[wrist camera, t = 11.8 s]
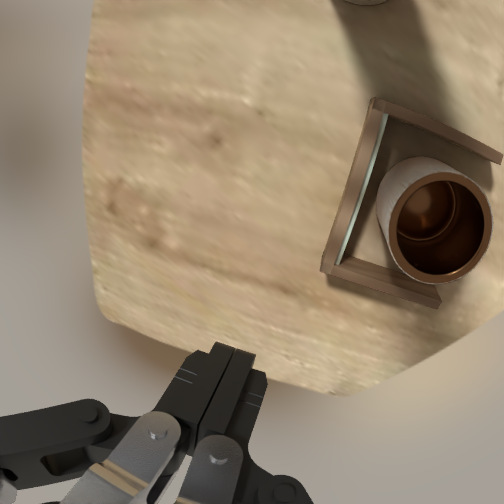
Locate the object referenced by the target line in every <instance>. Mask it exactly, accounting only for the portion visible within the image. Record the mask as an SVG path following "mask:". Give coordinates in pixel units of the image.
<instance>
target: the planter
mask: <svg viewBox="0 0 504 504" xmlns="http://www.w3.org/2000/svg"><path fill="white" fill-rule="evenodd" d="M376 212H377V217H378V220H379V223H380V226H381V228H382V231H383V233H384V236H385V238H386V241H387V244H388V247H389V250H390V253H391V255H392V257H393V259H394V261H395V262H396V264H397V265H398V267H399V268H400V269H401V270H402V271H403V272H404V273H405V274H407V275H408V276H409V277H411V278H413V279H415V280H417V281H419V282H422V283H427V284H445V283H449V282H452V281H455V280H457V279H460V278H461V277H463V276H465V275H466V274H468V273H469V272H470V271H471V270H473V269H474V268H475V267H476V266H477V264H478V263H479V262H480V261H481V259H482V258H483V256H484V255H485V253H486V251H487V249H488V246H489V244H490V241H491V237H492V231H493V216H492V210H491V206H490V203H489V201H488V199H487V197H486V195H485V193H484V192H483V190H482V189H481V188H480V186H479V185H478V184H477V183H476V182H474V181H473V180H472V179H471V178H469V177H467V176H466V175H464V174H462V173H460V172H459V171H457V170H455V169H453V168H452V167H450V166H448V165H446V164H445V163H443V162H441V161H439V160H437V159H434V158H430V157H412V158H408V159H405V160H403V161H401V162H399V163H397V164H396V165H395V166H393V167H392V168H391V169H390V170H389V171H388V172H387V173H386V175H385V176H384V178H383V179H382V181H381V183H380V186H379V189H378V192H377V198H376Z"/></svg>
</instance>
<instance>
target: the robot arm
mask: <svg viewBox="0 0 504 504" xmlns="http://www.w3.org/2000/svg"><path fill="white" fill-rule="evenodd" d="M344 1H347V2H350V3H353V4H359V5H375V4H380V3H383V2H385V1H387V0H344ZM235 349H236V348H234V347H231V346H228V345H225V344H222V343H219V342H215V344H214V345H213V347H212V349H211V351H210V353H209V354H208V353H205V352H202V351H200V350H197V351H195V352H194V353H192V354H191V355H189V356H188V357H187V358H186V359H185V361H184V362H183V364H182V366H181V367H180V369H179V370H178V372H177V373H176V375H175V377H174V378H173V380H172V381H171V383H170V384H169V386H168V388H167V389H166V391H165V392H164V394H163V396H162V397H161V399H160V400H159V402H158V403H157V405H156V407H155V408H154V409H153V410H152V411H151V412H148V413H146V414H144V415H142V416H139V417H129V416H122V415H117V414H112V413H110V412H109V410H108V408H107V407H106V406H105V405H104V404H103V403H101V402H100V401H97V400H94V399H83V400H79V401H74V402H71V403H66V404H62V405H57V406H53V407H49V408H44V409H39V410H34V411H30V412H25V413H19V414H14V415H9V416H3V417H0V504H12V503H14V502H15V500H16V495H17V490H21V489H27V488H33V487H38V486H44V485H49V484H53V483H58V482H62V481H66V480H71V479H75V478H79V477H81V478H80V479H79V481H78V482H77V483H76V484H75V485H74V487H73V488H72V489H71V491H69V493H68V494H67V495H66V496H65V498H64V499H63V500H62V501H61V502H57V501H56V502H47V503H42V504H158V502H159V501H160V499H161V498H162V496H163V495H164V493H165V491H166V490H167V488H168V487H169V485H170V484H171V482H172V480H173V479H174V477H175V476H176V474H177V472H178V470H179V467H180V465H181V464H182V462H183V459H184V457H185V455H186V454H187V455H189V456H192V461H191V463H190V465H189V468H188V471H187V474H186V476H185V479H184V482H183V484H182V487H181V490H180V492H179V495H178V497H177V500H176V502H175V503H174V504H314V503H313V502H312V501H311V498H310V497H309V495H308V493H307V492H306V490H305V488H304V487H303V485H302V484H301V483H300V482H299V481H298V480H296V479H295V478H293V477H290V476H286V475H275V476H273V475H272V474H270V473H268V472H267V471H265V470H263V469H262V468H260V467H259V466H257V465H256V464H255V463H254V461H253V460H252V459H251V457H250V455H249V452H248V443H249V439H250V436H251V433H252V431H253V428H254V425H255V422H256V419H257V416H258V413H259V410H260V407H261V403H262V401H263V398H264V394H265V391H266V388H267V385H268V384H267V379H266V374H265V372H262V371H258V370H255V369H252V367H253V364H254V360H255V357H256V354H253V353H249V352H246V351H243V350H240V349H236V350H235Z"/></svg>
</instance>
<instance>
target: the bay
mask: <svg viewBox="0 0 504 504" xmlns="http://www.w3.org/2000/svg"><path fill="white" fill-rule="evenodd" d="M388 116H389V117H392V118H394V119H397V120H400V121H402V122H405V123H407V124H410V125H412V126H415V127H417V128H420V129H422V130H425V131H427V132H429V133H432V134H434V135H436V136H438V137H441V138H443V139H445V140H447V141H449V142H452V143H454V144H456V145H458V146H460V147H462V148H464V149H466V150H468V151H470V152H472V153H474V154H476V155H478V156H480V157H482V158H484V159H486V160H489V161H491V162H494V163H497V164H499V165H501V161H502V158H503V154H501V153H500V152H498V151H496V150H494V149H492V148H491V147H489V146H487V145H485V144H483V143H481V142H479V141H477V140H476V139H474V138H472V137H470V136H468V135H466V134H464V133H462V132H459V131H457V130H455V129H453V128H451V127H449V126H447V125H445V124H442V123H440V122H438V121H436V120H433V119H431V118H429V117H426V116H424V115H422V114H419V113H417V112H414V111H412V110H409V109H407V108H404V107H402V106H399V105H396V104H394V103H391V102H388V101H385V100H383V99H380V98H377V97H374V98H372V99H371V100H370V104H369V108H368V111H367V115H366V119H365V122H364V126H363V130H362V133H361V137H360V140H359V144H358V147H357V150H356V154H355V157H354V160H353V164H352V167H351V170H350V174H349V177H348V180H347V183H346V186H345V190H344V193H343V196H342V199H341V202H340V205H339V208H338V211H337V214H336V217H335V220H334V223H333V226H332V229H331V232H330V235H329V238H328V241H327V244H326V247H325V250H324V252H323V255H322V260H321V267H320V272H323V273H326V274H329V275H332V276H335V277H338V278H342V279H345V280H348V281H351V282H354V283H357V284H360V285H363V286H366V287H369V288H372V289H375V290H379V291H382V292H385V293H388V294H391V295H394V296H397V297H400V298H403V299H406V300H409V301H412V302H415V303H419V304H422V305H425V306H428V307H431V308H434V309H438V307H439V305H440V303H441V302H442V301H441V299H440V296H439V294H438V292H437V290H436V287H435V285H434V284H427V283H422V282H419V281H417V280H415V279H413V278H411V277H409V276H408V275H405V274H402V273H399V272H396V271H393V270H390V269H387V268H384V267H381V266H378V265H375V264H372V263H369V262H366V261H363V260H360V259H357V258H354V257H351V256H348V255H345V254H343V253H344V250H345V247H346V245H347V242H348V239H349V237H350V234H351V231H352V228H353V225H354V223H355V220H356V217H357V214H358V211H359V208H360V205H361V202H362V200H363V197H364V194H365V191H366V188H367V184H368V181H369V178H370V175H371V172H372V169H373V166H374V163H375V159H376V156H377V153H378V149H379V146H380V143H381V139H382V136H383V132H384V129H385V125H386V122H387V118H388Z"/></svg>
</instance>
